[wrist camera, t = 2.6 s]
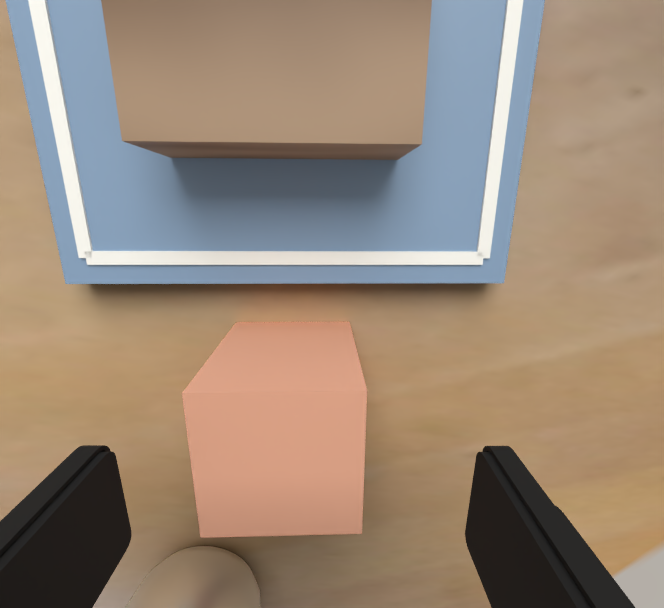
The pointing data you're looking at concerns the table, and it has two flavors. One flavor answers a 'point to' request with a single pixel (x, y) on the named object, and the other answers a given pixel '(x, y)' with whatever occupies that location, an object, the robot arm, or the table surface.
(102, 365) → the table surface
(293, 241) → the blueprint board
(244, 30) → the walnut base
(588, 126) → the table surface
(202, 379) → the terracotta block
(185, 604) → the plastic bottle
